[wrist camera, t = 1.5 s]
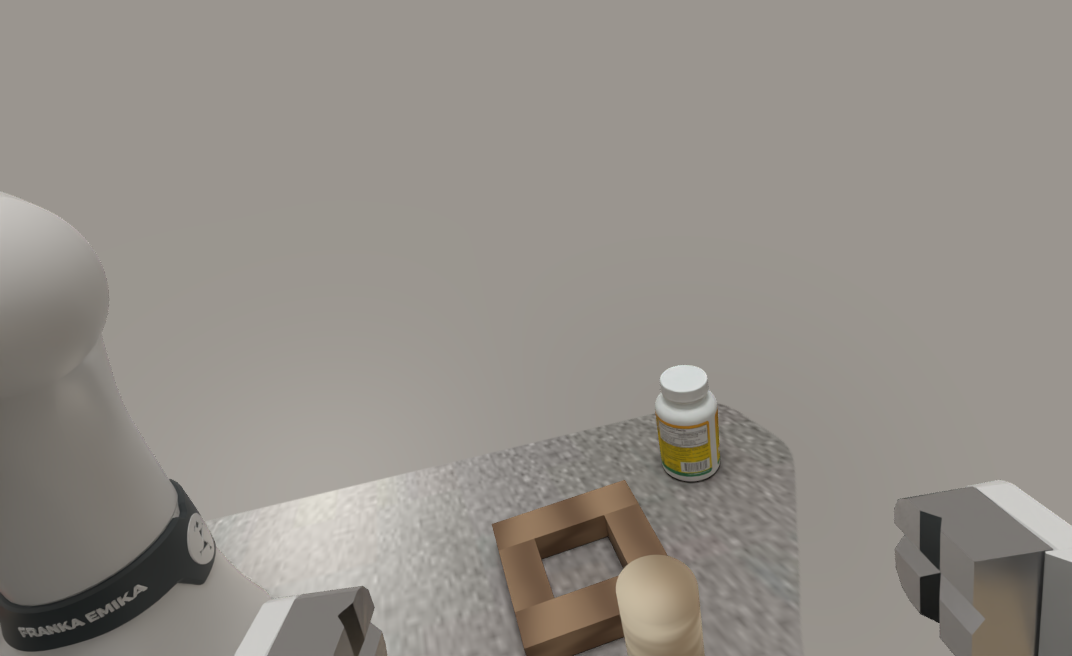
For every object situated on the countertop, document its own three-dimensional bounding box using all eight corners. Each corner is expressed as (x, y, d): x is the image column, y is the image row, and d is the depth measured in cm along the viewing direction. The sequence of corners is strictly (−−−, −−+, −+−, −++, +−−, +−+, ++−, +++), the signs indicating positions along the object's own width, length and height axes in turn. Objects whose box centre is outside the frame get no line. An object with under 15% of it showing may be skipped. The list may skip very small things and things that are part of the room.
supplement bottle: (697, 492, 56) (689, 404, 51) (649, 467, 60) (638, 383, 55) (732, 458, 59) (728, 372, 54) (684, 435, 62) (676, 354, 58)
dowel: (656, 760, 38) (633, 636, 32) (628, 692, 42) (604, 569, 36) (723, 734, 39) (713, 607, 33) (690, 668, 43) (676, 544, 37)
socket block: (531, 670, 45) (524, 648, 43) (498, 544, 55) (491, 524, 54) (689, 612, 46) (687, 589, 45) (628, 500, 56) (624, 479, 55)
